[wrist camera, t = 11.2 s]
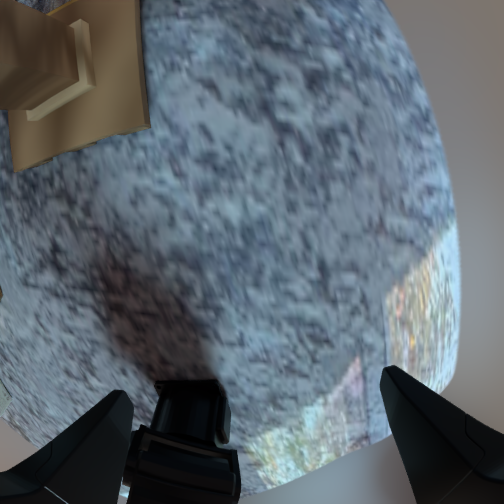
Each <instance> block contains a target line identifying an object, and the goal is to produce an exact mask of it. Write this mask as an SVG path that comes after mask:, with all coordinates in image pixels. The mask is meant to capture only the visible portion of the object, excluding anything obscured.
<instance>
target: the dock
mask: <svg viewBox="0 0 504 504" xmlns="http://www.w3.org/2000/svg"><path fill="white" fill-rule="evenodd" d="M46 15H48V16H51V17H53V18H55V19H57V20H59V21H61V22H63V23H65V24H67V25H70V24H72V23H74V22H76V21H77V20H79V19H82V20H83V21H85V22H87V23H88V24H89V33H90V43H91V51H92V59H93V66H94V73H95V80H96V86H97V87H96V88H94V89H92V90H90V91H88V92H86V93H84V94H82V95H81V96H79V97H77V98H75V99H73V100H71V101H70V102H68V103H66V104H64V105H63V106H61V107H59V108H58V109H56V110H54V111H53V112H51V113H49V114H48V115H46V116H45V117H43V118H41V119H40V120H38V121H28V120H27V113H26V110H8V121H9V135H10V145H11V153H12V161H13V168H14V173H15V172H20V171H23V170H25V169H29V168H34V167H38V166H40V165H42V164H45V163H47V162H49V161H52V160H53V158H52V157H55V156H57V155H60V154H62V153H65V152H74V151H78V150H81V149H83V148H86V147H89V146H92V145H95V144H96V141H98V140H101V139H104V138H107V137H110V136H113V135H127V134H130V133H134V132H138V131H141V130H145V129H149V128H151V124H150V117H149V110H148V102H147V94H146V85H145V76H144V65H143V54H142V41H141V26H140V3H139V0H71V1H69V2H67V3H65V4H63V5H61V6H60V7H58V8H56V9H54V10H53V11H51V12H49V13H48V14H46Z"/></svg>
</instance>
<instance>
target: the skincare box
mask: <svg viewBox="0 0 504 504" xmlns="http://www.w3.org/2000/svg"><path fill="white" fill-rule="evenodd" d="M11 401H12V398H11V396H10V395H9V393H8V392H7V390H6V389H5V387H4V385H3V383H2V382H1V380H0V417H1V416H2V414H3V413H4V411H5V410H6V408H7V407H8V405H9V404H10V402H11Z"/></svg>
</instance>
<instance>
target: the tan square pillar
mask: <svg viewBox="0 0 504 504" xmlns="http://www.w3.org/2000/svg"><path fill="white" fill-rule="evenodd" d="M96 87H97V86H96V80H95V73H94V66H93V59H92V51H91V43H90V33H89V24H88V23H87V22H85V21H83V20H82V19H79V20H77V21H76V22H74V23H72V24H70V25H67V24H65V23H63V22H61V21H59V20H57V19H55V18H53V17H51V16H48V15H46V14H44V13H42V12H40V11H38V10H36V9H33V8H31V7H29V6H26V5H24V4H22V3H19V2H17V1H15V0H0V110H26V113H27V120H28V121H38V120H40V119H41V118H43V117H45V116H46V115H48V114H49V113H51V112H53V111H54V110H56V109H58V108H59V107H61V106H63V105H64V104H66V103H68V102H70V101H71V100H73V99H75V98H77V97H79V96H81V95H82V94H84V93H86V92H88V91H90V90H92V89H94V88H96Z"/></svg>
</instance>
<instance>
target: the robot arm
mask: <svg viewBox="0 0 504 504" xmlns="http://www.w3.org/2000/svg"><path fill="white" fill-rule="evenodd" d="M154 388H155V390H156V392H157V394H158V395H159V399H158V402H157V406H156V409H155V412H154V415H153V418H152V421H151V425H150V428H148V427H147V426H145V425H142V424H141V425H140V427H139V430H136V431H132V432H131V429H132V421H133V413H134V406H133V404H132V402H131V400H130V398H129V397H128V395H127V393H126V392H125V391H124V390H113V391H112V392H110V393H109V394H108V395H107V396H106V397H104V398H103V399H102V400H101V401H100V402H98V403H97V404H96V405H95V406H93V407H92V408H91V409H90V410H89V411H87V412H86V413H85V414H84V415H82V416H81V417H80V418H79V419H78V420H76V421H75V422H74V423H73V424H71V425H70V426H69V427H68V428H66V429H65V430H64V431H63V432H61V433H60V434H59V435H58V436H57V437H55V438H54V439H53V440H52V441H50V442H49V443H48V444H46V445H45V446H44V447H43V448H41V449H40V450H39V451H37V452H36V453H34V454H33V455H31V456H30V457H28V458H27V459H25V460H24V461H22V462H20V463H19V464H17V465H16V466H14V467H12V468H11V469H9V470H7V471H4V472H0V504H117V500H118V496H119V491H120V486H121V481H122V477H123V481H122V485H125V486H128V487H130V491H129V495H128V500H127V503H126V504H238V501H239V498H240V493H241V476H240V469H239V462H238V455H237V450H234V449H230V450H229V449H224V448H223V444H227V443H228V442H229V437H230V422H231V410H230V407H229V404H228V401H227V398H226V397H223V395H222V392H221V388H220V385H219V383H218V382H217V381H216V380H200V381H156V382H155V385H154ZM380 391H381V395H382V398H383V402H384V406H385V410H386V414H387V418H388V422H389V426H390V428H391V431H392V434H393V436H394V439H395V442H396V445H397V447H398V450H399V453H400V455H401V458H402V461H403V464H404V466H405V470H406V472H407V475H408V478H409V481H410V484H411V487H412V490H413V493H414V496H415V499H416V503H417V504H504V434H502V433H500V432H498V431H496V430H494V429H492V428H490V427H488V426H486V425H485V424H483V423H481V422H480V421H478V420H476V419H475V418H473V417H472V416H470V415H469V414H466V413H465V412H464V411H463V410H461V409H460V408H458V407H457V406H455V405H453V404H452V403H451V402H449V401H448V400H446V399H445V398H443V397H442V396H440V395H439V394H437V393H436V392H434V391H433V390H431V389H430V388H428V387H427V386H425V385H424V384H422V383H421V382H419V381H418V380H416V379H415V378H413V377H412V376H411V375H409V374H408V373H406V372H405V371H403V370H402V369H400V368H399V367H397V366H395V365H391V366H388V367H384V368H383V371H382V375H381V380H380Z"/></svg>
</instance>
